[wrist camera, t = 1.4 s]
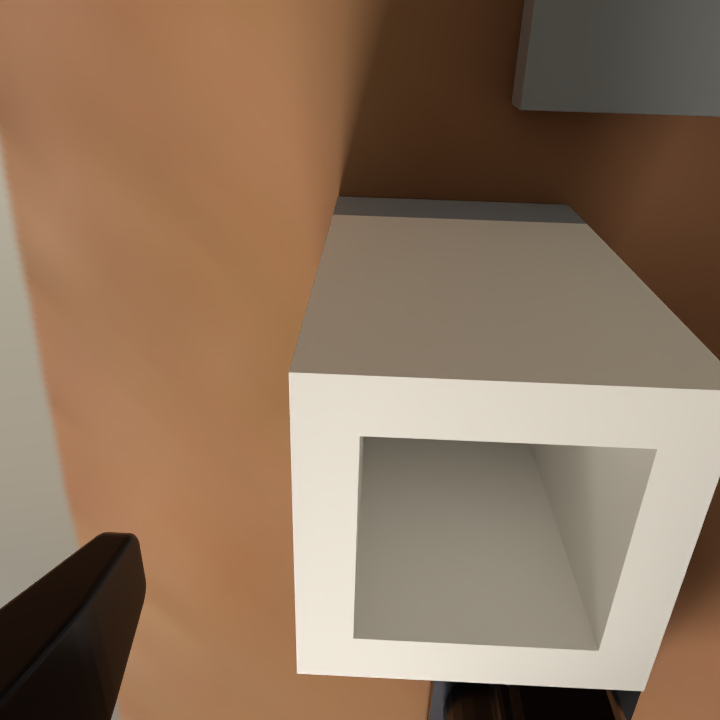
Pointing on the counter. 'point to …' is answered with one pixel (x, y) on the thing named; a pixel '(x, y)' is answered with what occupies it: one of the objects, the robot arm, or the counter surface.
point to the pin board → (619, 57)
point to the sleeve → (492, 450)
